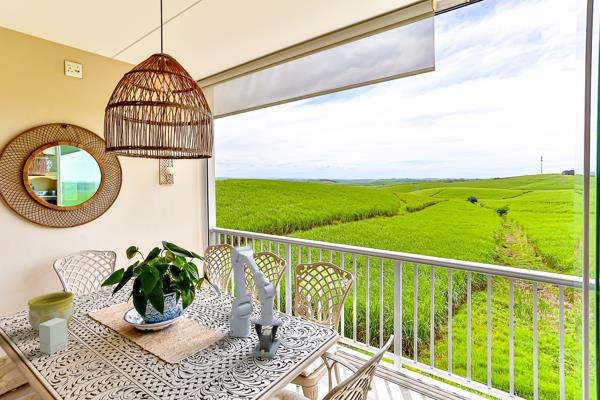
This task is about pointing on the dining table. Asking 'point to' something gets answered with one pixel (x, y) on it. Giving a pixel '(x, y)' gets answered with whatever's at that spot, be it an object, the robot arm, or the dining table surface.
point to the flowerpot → (50, 308)
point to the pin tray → (263, 354)
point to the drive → (266, 340)
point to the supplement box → (53, 335)
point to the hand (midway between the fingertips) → (266, 340)
